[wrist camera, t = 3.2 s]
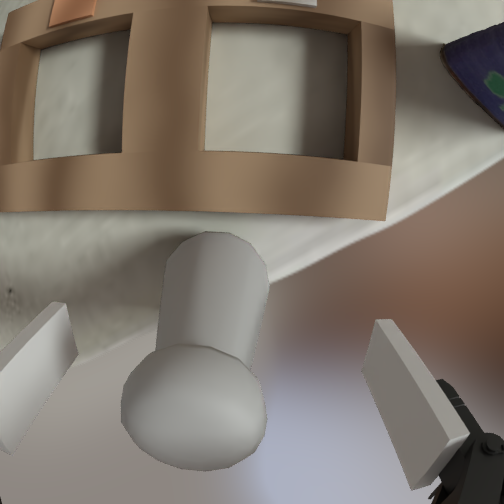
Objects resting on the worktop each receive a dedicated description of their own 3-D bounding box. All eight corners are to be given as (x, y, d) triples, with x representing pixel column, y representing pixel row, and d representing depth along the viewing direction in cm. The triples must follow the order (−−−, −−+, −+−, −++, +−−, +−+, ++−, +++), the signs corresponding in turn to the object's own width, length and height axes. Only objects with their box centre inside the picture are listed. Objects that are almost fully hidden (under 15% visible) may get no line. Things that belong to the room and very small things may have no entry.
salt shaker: (174, 305, 20) (111, 476, 8) (171, 220, 18) (58, 352, 6) (263, 310, 20) (282, 493, 8) (270, 224, 19) (315, 375, 6)
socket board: (16, 204, 18) (-8, 213, 15) (27, 21, 13) (6, 11, 10) (368, 211, 18) (387, 222, 16) (375, 3, 14) (393, -13, 11)
